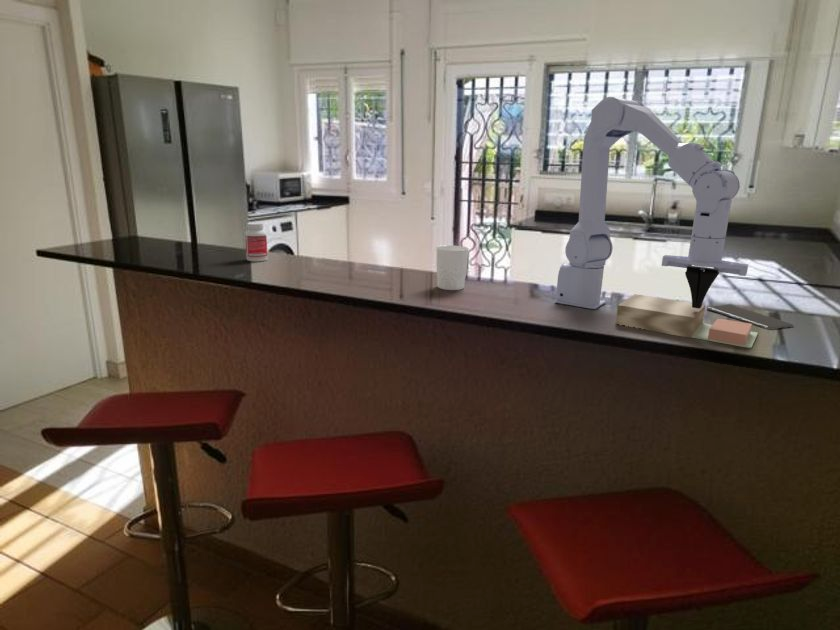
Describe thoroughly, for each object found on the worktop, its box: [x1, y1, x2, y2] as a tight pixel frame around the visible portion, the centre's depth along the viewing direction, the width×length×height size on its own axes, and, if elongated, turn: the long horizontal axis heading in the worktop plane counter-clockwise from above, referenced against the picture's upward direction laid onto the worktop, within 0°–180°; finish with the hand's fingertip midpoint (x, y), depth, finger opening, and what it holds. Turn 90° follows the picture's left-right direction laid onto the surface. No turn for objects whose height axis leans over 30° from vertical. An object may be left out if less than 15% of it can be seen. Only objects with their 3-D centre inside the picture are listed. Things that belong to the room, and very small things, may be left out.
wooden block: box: [615, 294, 706, 339], centre depth 115 cm, size 14×12×4 cm
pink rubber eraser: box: [708, 318, 753, 345], centre depth 108 cm, size 6×9×2 cm, turn 144°
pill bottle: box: [244, 222, 268, 263], centre depth 171 cm, size 6×6×11 cm
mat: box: [691, 322, 759, 349], centre depth 109 cm, size 10×11×1 cm
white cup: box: [435, 245, 469, 291], centre depth 142 cm, size 8×8×10 cm
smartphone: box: [706, 304, 794, 330], centre depth 122 cm, size 7×1×16 cm
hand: (696, 307), depth 110 cm, fingers closed
